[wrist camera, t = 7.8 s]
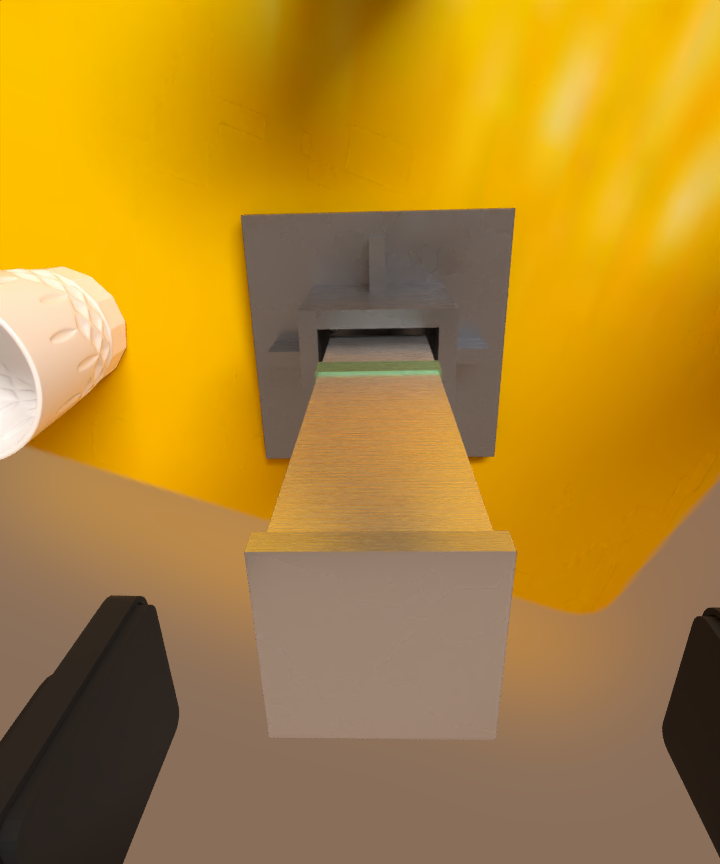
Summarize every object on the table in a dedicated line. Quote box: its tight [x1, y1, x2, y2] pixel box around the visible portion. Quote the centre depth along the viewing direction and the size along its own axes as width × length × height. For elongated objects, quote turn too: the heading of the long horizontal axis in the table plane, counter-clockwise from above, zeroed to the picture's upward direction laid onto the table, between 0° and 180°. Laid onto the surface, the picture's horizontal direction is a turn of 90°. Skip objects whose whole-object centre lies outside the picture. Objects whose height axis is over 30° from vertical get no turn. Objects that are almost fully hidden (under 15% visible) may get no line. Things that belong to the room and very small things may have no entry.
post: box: [244, 335, 517, 740], centre depth 17 cm, size 5×5×16 cm
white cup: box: [0, 267, 126, 460], centre depth 27 cm, size 8×8×10 cm
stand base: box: [241, 208, 515, 458], centre depth 28 cm, size 14×14×8 cm
